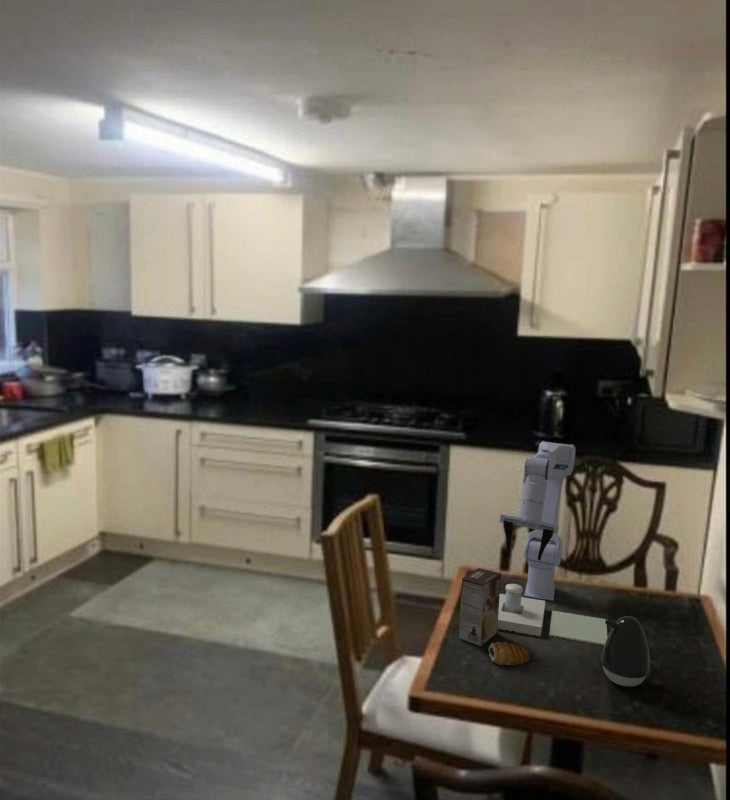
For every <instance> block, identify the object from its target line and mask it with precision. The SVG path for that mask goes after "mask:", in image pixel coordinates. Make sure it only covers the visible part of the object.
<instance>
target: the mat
mask: <svg viewBox="0 0 730 800" xmlns="http://www.w3.org/2000/svg"><path fill="white" fill-rule="evenodd" d="M606 620H607V619H606V618H602V617H601V618H600V617H593V616H588V615H582V614H575V613H569V612H563V611H558V610H552V611H551V617H550V627H549V634H548V636H549V637H552V636H553V637H552V638H557V637H559V638H558V639H563V638H565V639H564V640H569V641H575V642H580V643H581V642H582V643H585V644H586V643H587V644H592V645H599V646H602V647H604V645H605V642H606V639H607V637H608V625H607V624H605V621H606Z"/></svg>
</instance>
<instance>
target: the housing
mask: <svg viewBox="0 0 730 800" xmlns="http://www.w3.org/2000/svg"><path fill="white" fill-rule="evenodd" d="M505 601H506V593H500V595H499V612H498V627H497V630H501V629H502V631H506V630H508V631H507V632H512V631H515V632H514V633H519V634H524V635H529V636H535V635H536V636H535V637H542V630H543V623H544V617H545V609H546V600H544V599H538V598H532V597H525V596H524V597H523V596H521V607H520V614H516V613H510V612H505Z"/></svg>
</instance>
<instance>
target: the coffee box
mask: <svg viewBox="0 0 730 800" xmlns="http://www.w3.org/2000/svg"><path fill="white" fill-rule="evenodd" d="M501 577H502V573H500V572H496V571H493V570H488V569H485V568H481V567H478V568H477V569H475V570H473V571H471V572H470V573H469V574H467V575H465V576H464V577H463V578H462V579H461V594H460V595H461V596H460V598H461V599H460V615H459V633H458V634H459V635H458V636H459V637H458V639H460V640H462V641H466V642H468V643H471V644H474V645H475V646H476V645H477V646H479V647H482V646H483V645H484V644H486V642H488V641H489V640H491V638H493V637H494V636H495V635H496V634H497V633H498V629H497V627H498V612H499V595H500V594H501V593H500V592H501V591H500V590H501Z"/></svg>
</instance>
